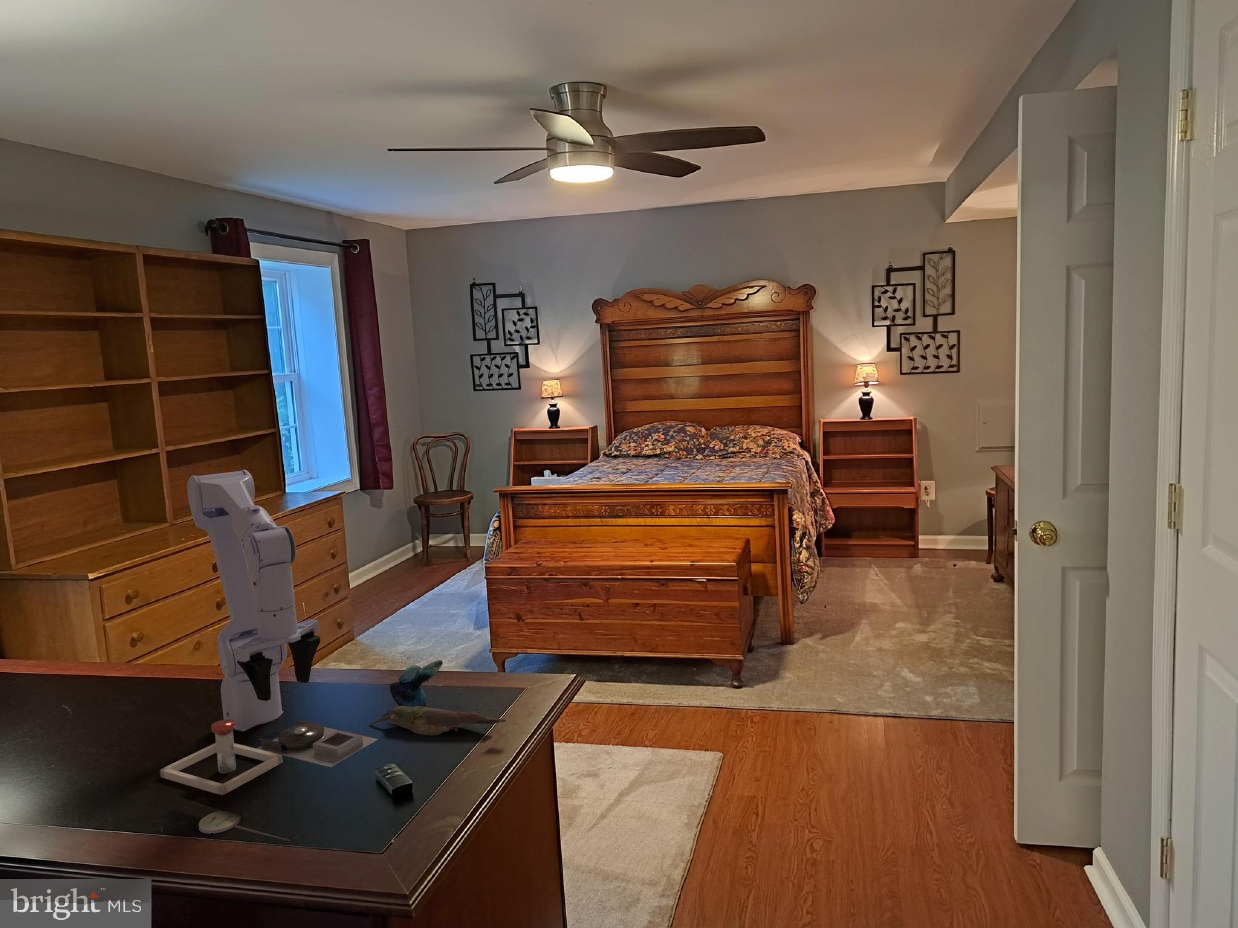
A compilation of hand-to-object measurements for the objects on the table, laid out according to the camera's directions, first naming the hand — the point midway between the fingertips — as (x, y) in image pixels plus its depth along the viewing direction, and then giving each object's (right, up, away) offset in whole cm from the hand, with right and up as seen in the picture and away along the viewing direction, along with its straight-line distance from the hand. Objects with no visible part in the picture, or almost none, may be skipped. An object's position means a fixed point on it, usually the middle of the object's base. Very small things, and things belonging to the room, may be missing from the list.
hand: (284, 690), depth 137 cm
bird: (+23, -9, +5) cm, 25 cm away
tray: (-7, -11, -6) cm, 15 cm away
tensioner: (+5, -10, +1) cm, 11 cm away
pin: (-6, -11, -6) cm, 14 cm away
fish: (+18, -8, +13) cm, 24 cm away
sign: (+3, -14, -21) cm, 25 cm away
